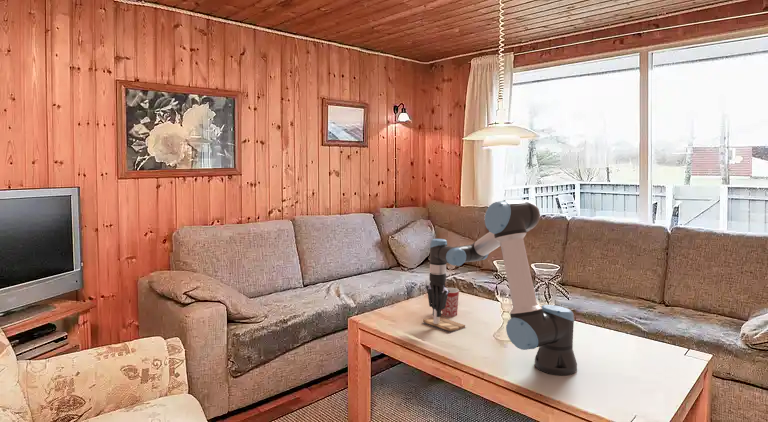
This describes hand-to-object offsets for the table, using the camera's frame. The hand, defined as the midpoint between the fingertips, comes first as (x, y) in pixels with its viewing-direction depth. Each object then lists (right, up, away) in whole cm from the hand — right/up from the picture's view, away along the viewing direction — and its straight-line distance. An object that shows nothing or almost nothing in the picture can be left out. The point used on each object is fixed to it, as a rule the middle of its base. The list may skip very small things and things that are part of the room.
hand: (436, 323), depth 230 cm
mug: (+7, -1, +21) cm, 22 cm away
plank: (+2, -2, +2) cm, 3 cm away
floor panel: (+4, -3, +3) cm, 6 cm away
